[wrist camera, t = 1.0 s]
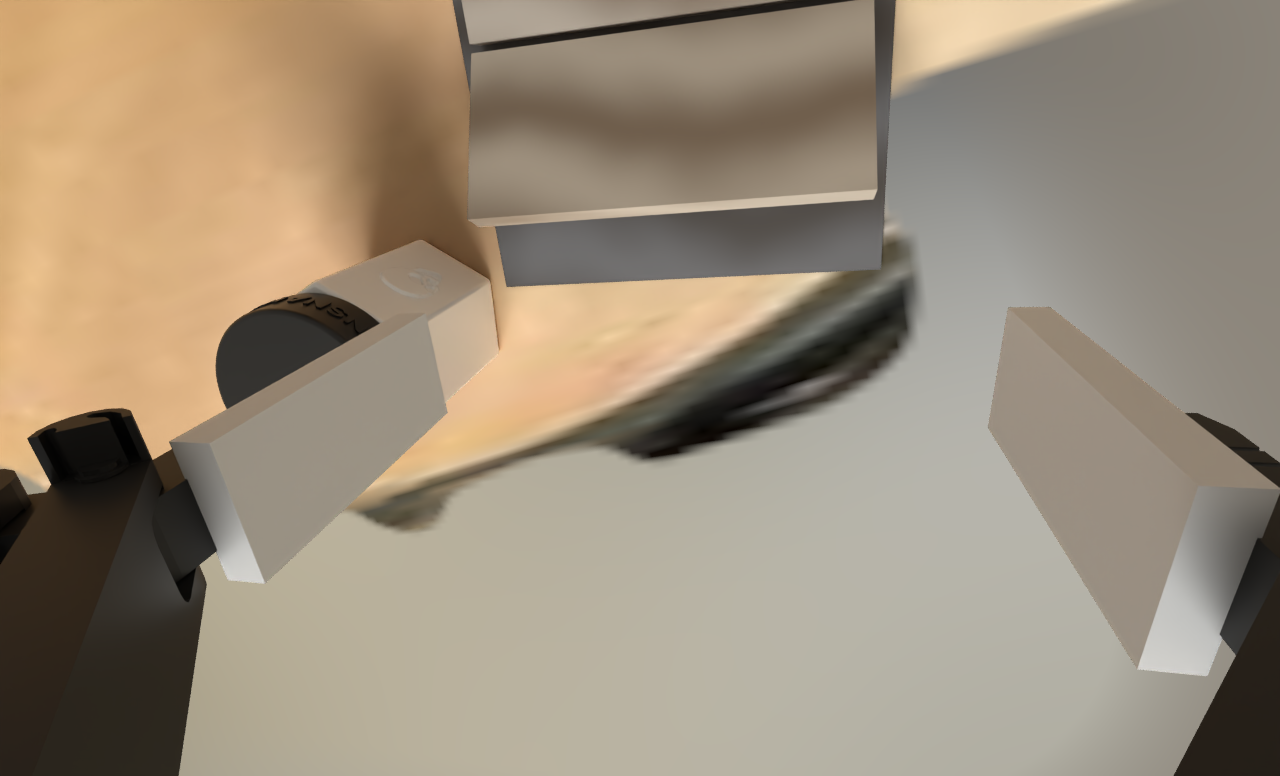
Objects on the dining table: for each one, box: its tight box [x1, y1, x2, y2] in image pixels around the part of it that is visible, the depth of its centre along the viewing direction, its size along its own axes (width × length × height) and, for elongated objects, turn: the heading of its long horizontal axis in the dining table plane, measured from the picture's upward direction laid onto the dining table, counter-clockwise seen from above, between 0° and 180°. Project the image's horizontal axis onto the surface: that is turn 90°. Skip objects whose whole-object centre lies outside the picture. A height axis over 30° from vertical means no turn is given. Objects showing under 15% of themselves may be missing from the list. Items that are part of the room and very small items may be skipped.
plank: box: [467, 0, 878, 227], centre depth 28 cm, size 8×18×1 cm, turn 96°
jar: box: [216, 239, 499, 409], centre depth 32 cm, size 9×8×12 cm
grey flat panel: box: [453, 0, 895, 287], centre depth 28 cm, size 23×20×1 cm
